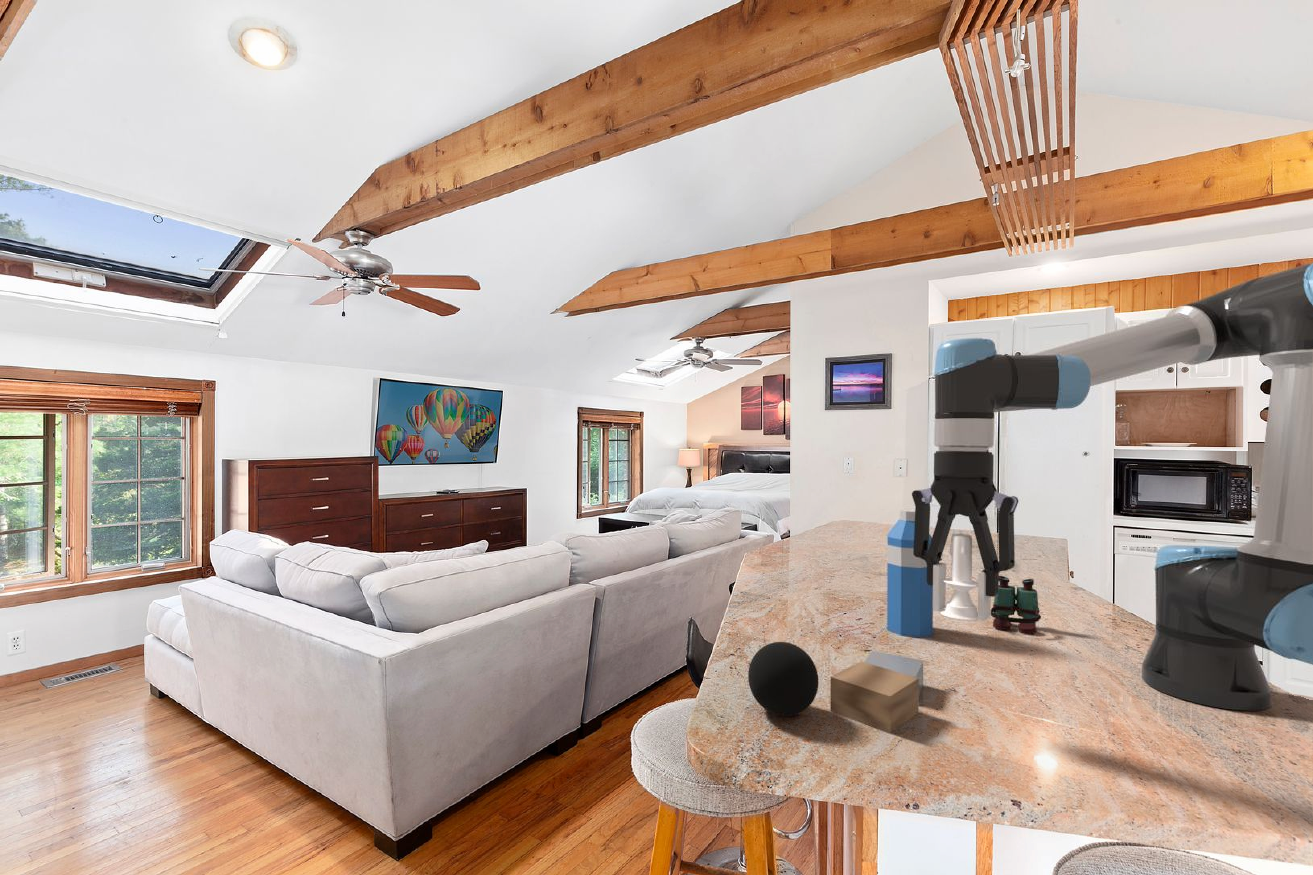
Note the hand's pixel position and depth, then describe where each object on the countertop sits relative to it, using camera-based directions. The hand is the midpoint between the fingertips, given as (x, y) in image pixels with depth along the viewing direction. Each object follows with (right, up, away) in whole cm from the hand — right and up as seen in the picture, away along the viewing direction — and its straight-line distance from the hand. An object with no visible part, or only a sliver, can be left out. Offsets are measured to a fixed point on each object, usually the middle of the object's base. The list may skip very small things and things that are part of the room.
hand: (961, 613), depth 84 cm
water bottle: (+10, -16, +40) cm, 44 cm away
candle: (0, -1, 0) cm, 1 cm away
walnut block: (-11, -15, +3) cm, 19 cm away
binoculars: (+32, -16, +41) cm, 54 cm away
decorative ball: (-25, -15, +2) cm, 29 cm away
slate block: (-5, -15, +11) cm, 20 cm away
